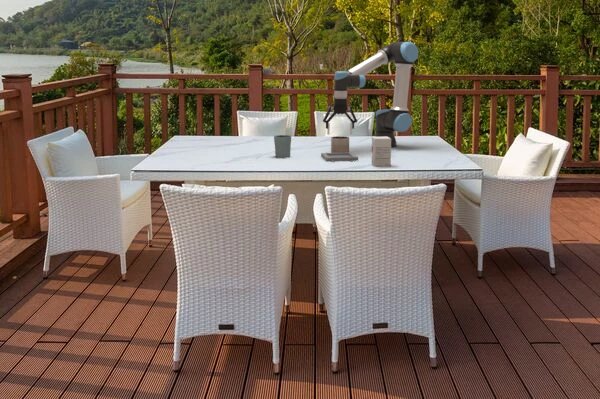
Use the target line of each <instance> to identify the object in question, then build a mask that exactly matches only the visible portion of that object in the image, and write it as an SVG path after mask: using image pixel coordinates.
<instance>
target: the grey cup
mask: <svg viewBox="0 0 600 399" xmlns="http://www.w3.org/2000/svg"><path fill="white" fill-rule="evenodd" d="M273 140H274V149H275V150H274V155H275V158H278V157H279V159H282V158H284V159H286V158H287V157H288V158H290V157H291V145H292V135H289V134H288V135H287V134H286V135H285V134H279V135H274V136H273Z"/></svg>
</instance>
